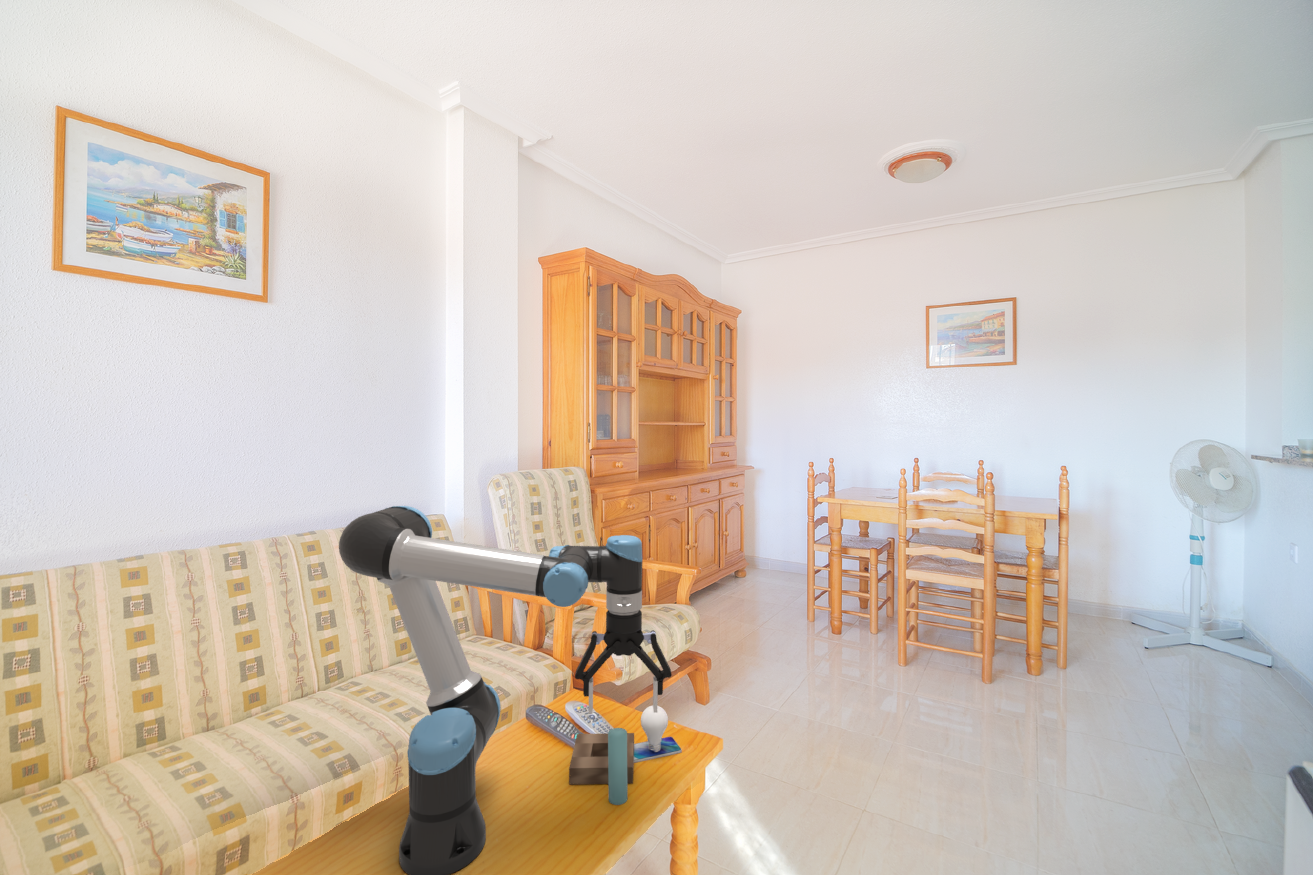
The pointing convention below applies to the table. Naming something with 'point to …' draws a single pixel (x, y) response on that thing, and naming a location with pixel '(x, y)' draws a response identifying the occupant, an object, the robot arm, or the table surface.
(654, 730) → the light bulb
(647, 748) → the smartphone
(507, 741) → the table surface
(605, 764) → the socket block
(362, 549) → the robot arm
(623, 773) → the peg
